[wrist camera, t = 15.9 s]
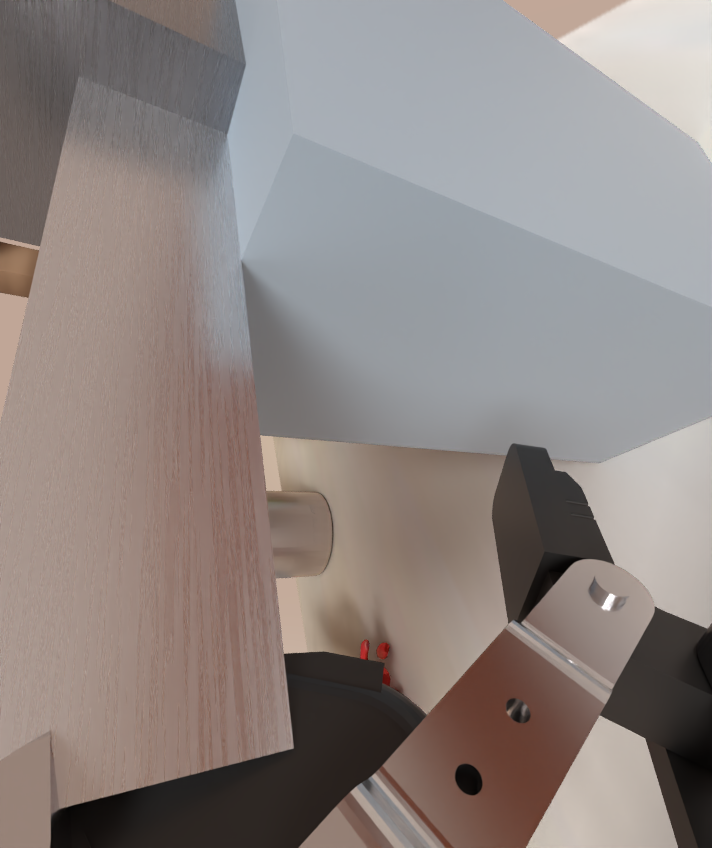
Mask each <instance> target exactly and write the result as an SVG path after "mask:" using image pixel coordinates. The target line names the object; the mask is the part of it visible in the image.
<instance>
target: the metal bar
mask: <svg viewBox="0 0 712 848" xmlns="http://www.w3.org/2000/svg"><path fill="white" fill-rule="evenodd" d="M245 67H246V61H245V55H244V49H243V43H242V37H241V31H240V25H239V20H238V14H237V8H236V2H235V0H0V237H1V238H6V239H10V240H15V241H19V242H23V243H28V244H32V245H36V246H40V250H39V254H38V258H37V263H36V267H35V272H34V276H33V281H32V285H31V289H30V294H29V298H28V303H27V307H26V312H25V316H24V321H23V325H22V330H21V334H20V338H19V343H18V348H17V352H16V356H15V361H14V365H13V369H12V374H11V379H10V383H9V387H8V392H7V396H6V401H5V405H4V410H3V414H2V418H1V423H0V760H2V759H3V758H5V757H6V756H8V755H9V754H11V753H13V752H14V751H16V750H17V749H19V748H20V747H22V746H24V745H25V744H27V743H29V742H31V741H32V740H34V739H36V738H38V737H39V736H41V735H43V734H45V733H46V732H48V731H50V730H51V739H52V748H53V757H54V766H55V775H56V784H57V793H58V802H59V809H61V808H64V807H68V806H72V805H76V804H80V803H84V802H88V801H92V800H95V799H99V798H103V797H107V796H111V795H115V794H119V793H123V792H126V791H130V790H134V789H138V788H142V787H146V786H150V785H154V784H157V783H161V782H165V781H169V780H173V779H177V778H181V777H185V776H189V775H192V774H196V773H200V772H204V771H208V770H212V769H216V768H220V767H223V766H227V765H231V764H235V763H239V762H243V761H247V760H251V759H254V758H258V757H262V756H266V755H270V754H274V753H278V752H282V751H285V750H289V749H293V748H294V744H293V735H292V726H291V717H290V707H289V698H288V689H287V680H286V670H285V661H284V652H283V643H282V633H281V624H280V615H279V606H278V596H277V587H276V578H275V568H274V559H273V550H272V541H271V531H270V522H269V513H268V503H267V494H266V485H265V476H264V466H263V457H262V448H261V439H260V429H259V420H258V411H257V401H256V392H255V383H254V374H253V364H252V355H251V346H250V337H249V327H248V318H247V309H246V299H245V290H244V281H243V272H242V262H241V254H240V244H239V235H238V226H237V216H236V207H235V198H234V189H233V179H232V170H231V161H230V151H229V142H228V131H229V127H230V123H231V120H232V116H233V112H234V108H235V104H236V101H237V97H238V93H239V89H240V86H241V82H242V78H243V74H244V70H245Z"/></svg>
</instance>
